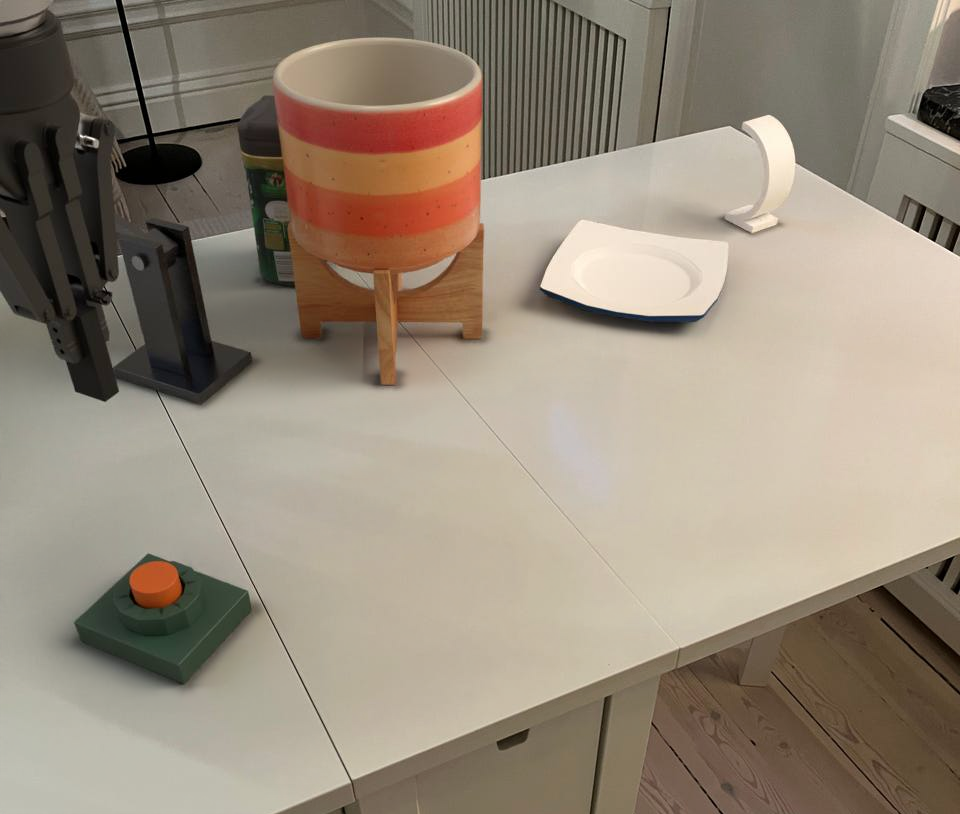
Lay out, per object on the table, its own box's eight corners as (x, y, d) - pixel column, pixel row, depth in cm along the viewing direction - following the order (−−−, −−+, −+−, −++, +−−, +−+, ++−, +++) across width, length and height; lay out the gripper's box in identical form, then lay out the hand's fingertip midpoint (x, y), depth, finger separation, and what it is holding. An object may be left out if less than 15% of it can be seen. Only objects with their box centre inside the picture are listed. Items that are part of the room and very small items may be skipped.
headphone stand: (749, 210, 135) (769, 114, 126) (782, 227, 132) (805, 130, 123) (724, 218, 133) (742, 122, 125) (757, 236, 130) (778, 138, 121)
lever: (34, 204, 97) (34, 182, 95) (77, 181, 100) (78, 159, 98) (148, 282, 97) (151, 261, 95) (187, 255, 100) (190, 235, 98)
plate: (528, 312, 116) (529, 290, 114) (573, 235, 129) (575, 215, 127) (705, 343, 112) (710, 321, 110) (733, 261, 125) (738, 240, 123)
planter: (291, 385, 105) (253, 108, 86) (310, 290, 119) (281, 33, 99) (483, 385, 106) (488, 110, 86) (480, 291, 119) (484, 35, 100)
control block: (80, 641, 80) (66, 605, 77) (154, 572, 86) (143, 536, 83) (184, 684, 77) (173, 649, 74) (252, 610, 83) (245, 573, 80)
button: (124, 600, 78) (118, 583, 77) (154, 571, 80) (149, 555, 79) (162, 615, 77) (157, 598, 76) (191, 586, 79) (187, 569, 78)
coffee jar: (270, 249, 126) (246, 87, 112) (333, 251, 126) (317, 89, 112) (253, 287, 119) (226, 119, 106) (320, 290, 119) (302, 122, 105)
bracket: (115, 377, 106) (75, 239, 95) (169, 337, 111) (138, 202, 101) (201, 404, 103) (170, 264, 92) (253, 361, 108) (229, 225, 97)
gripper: (-56, 64, 50) (75, 456, 67) (120, -5, 58) (197, 361, 75) (-165, 39, 52) (-11, 424, 69) (19, -24, 60) (116, 335, 77)
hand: (97, 391), depth 72 cm, fingers closed
